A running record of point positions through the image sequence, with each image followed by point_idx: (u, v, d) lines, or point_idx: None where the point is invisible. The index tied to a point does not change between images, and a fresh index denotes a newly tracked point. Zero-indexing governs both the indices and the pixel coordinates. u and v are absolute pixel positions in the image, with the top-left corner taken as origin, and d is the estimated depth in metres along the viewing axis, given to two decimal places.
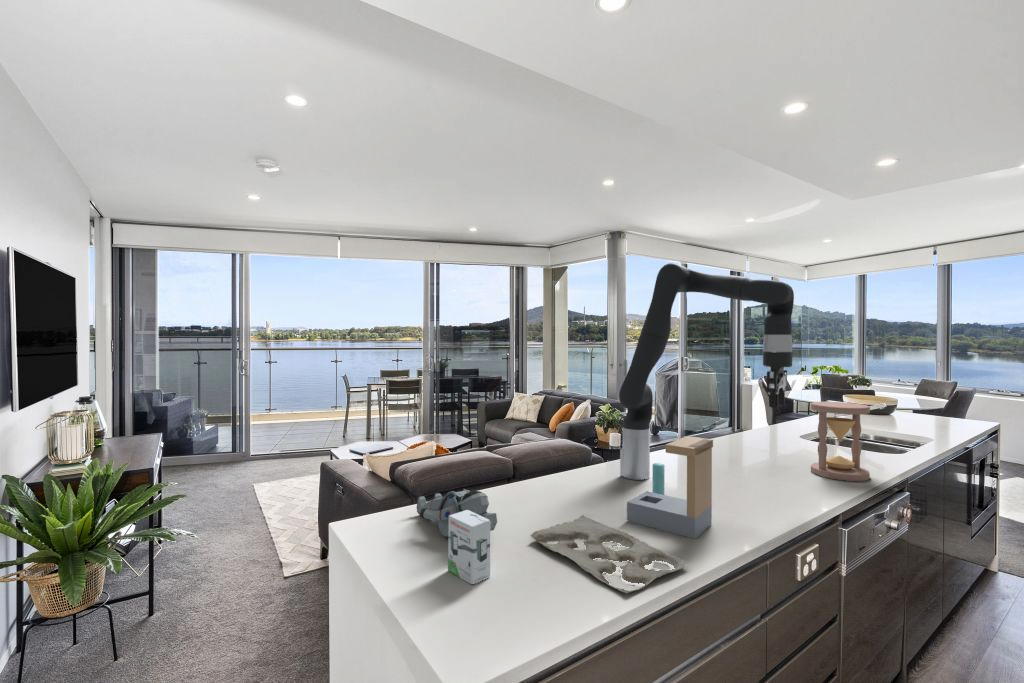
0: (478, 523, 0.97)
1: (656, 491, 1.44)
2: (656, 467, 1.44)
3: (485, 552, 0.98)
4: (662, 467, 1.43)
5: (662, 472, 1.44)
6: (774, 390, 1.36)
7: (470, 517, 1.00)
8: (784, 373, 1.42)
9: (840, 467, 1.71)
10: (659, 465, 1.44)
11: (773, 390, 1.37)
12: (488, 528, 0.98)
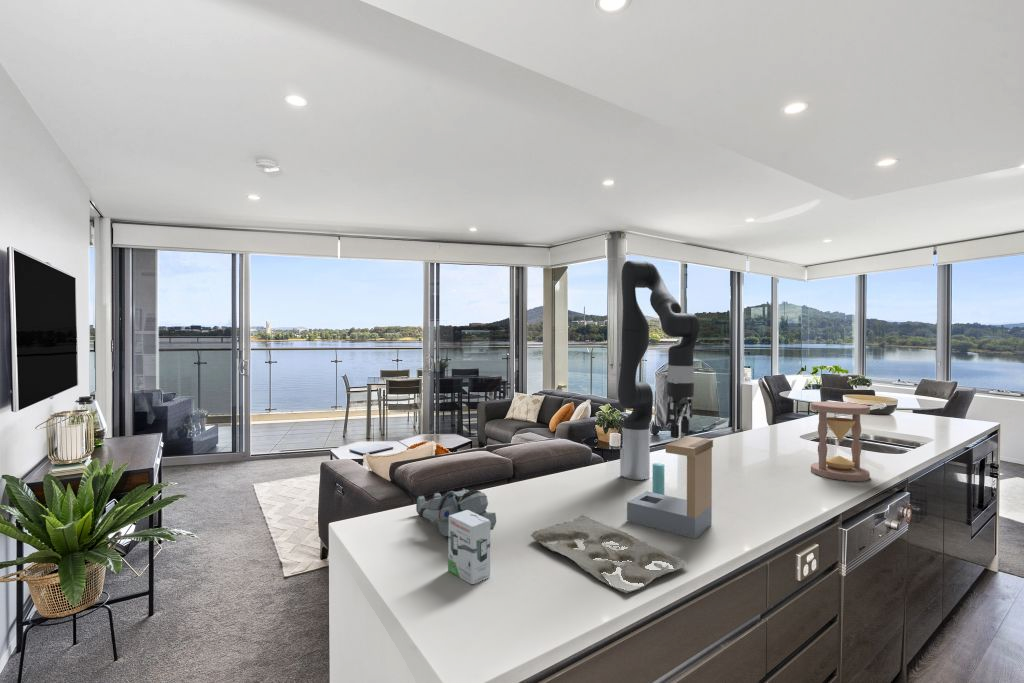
0: (478, 523, 0.97)
1: (656, 491, 1.44)
2: (656, 467, 1.44)
3: (485, 552, 0.98)
4: (662, 467, 1.43)
5: (662, 472, 1.44)
6: (674, 421, 1.39)
7: (470, 517, 1.00)
8: (687, 403, 1.44)
9: (840, 467, 1.71)
10: (659, 465, 1.44)
11: (673, 421, 1.39)
12: (488, 528, 0.98)
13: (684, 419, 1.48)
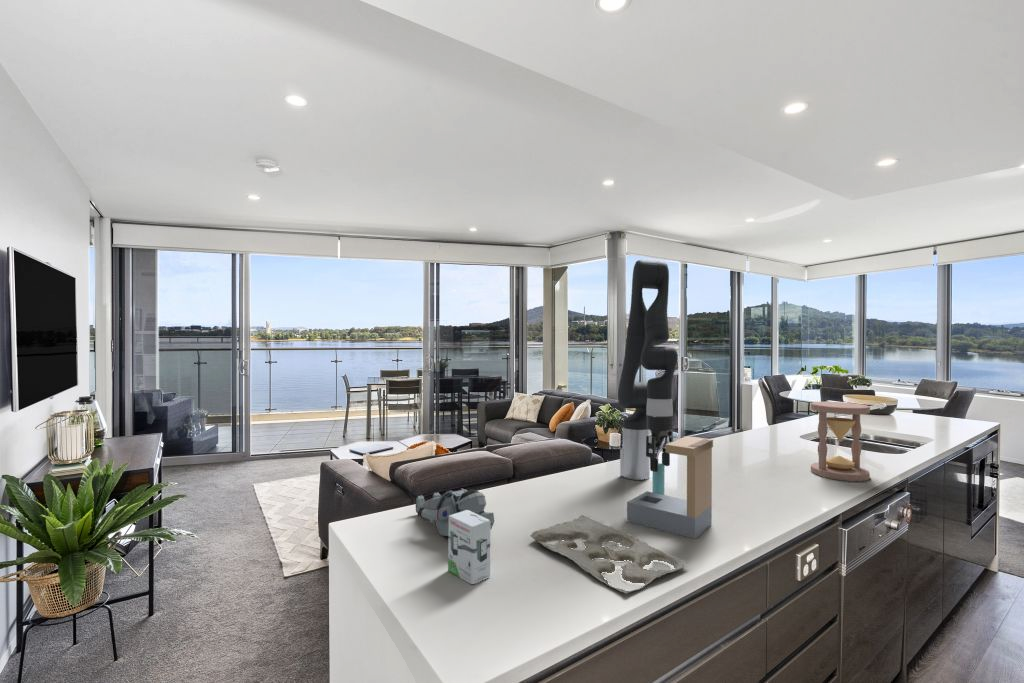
0: (478, 523, 0.97)
1: (656, 491, 1.44)
2: None
3: (485, 552, 0.98)
4: (662, 467, 1.43)
5: (662, 472, 1.44)
6: (652, 455, 1.39)
7: (470, 517, 1.00)
8: (666, 436, 1.45)
9: (840, 467, 1.71)
10: (659, 465, 1.44)
11: (651, 455, 1.39)
12: (488, 528, 0.98)
13: (665, 452, 1.48)
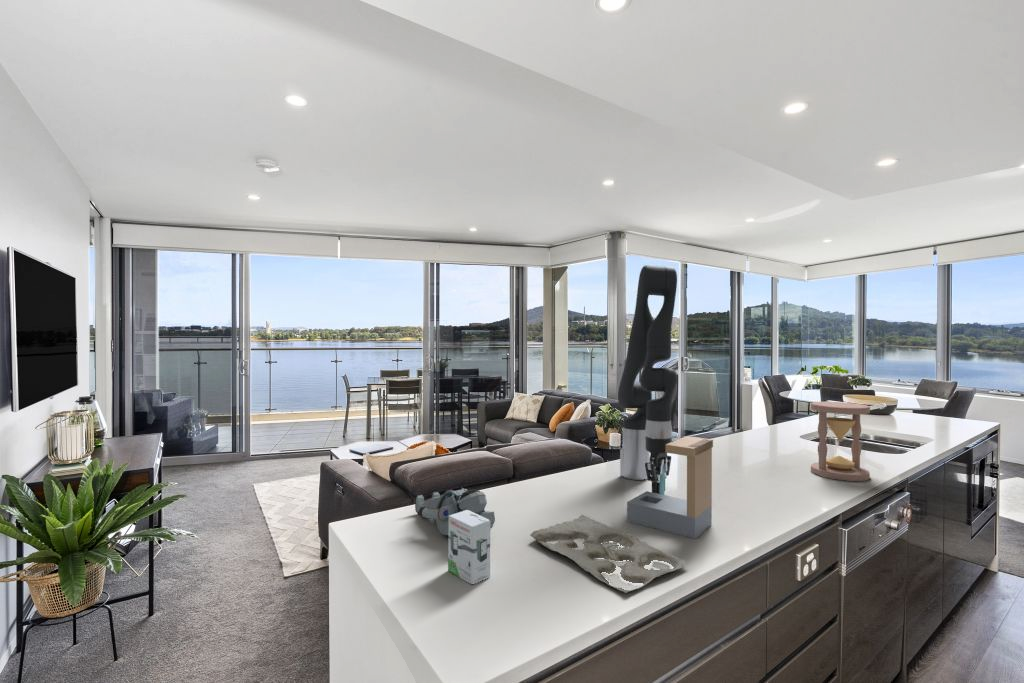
0: (478, 523, 0.97)
1: None
2: None
3: (485, 552, 0.98)
4: None
5: (662, 472, 1.44)
6: (654, 479, 1.41)
7: (470, 517, 1.00)
8: (665, 457, 1.45)
9: (840, 467, 1.71)
10: None
11: (653, 479, 1.41)
12: (488, 528, 0.98)
13: None
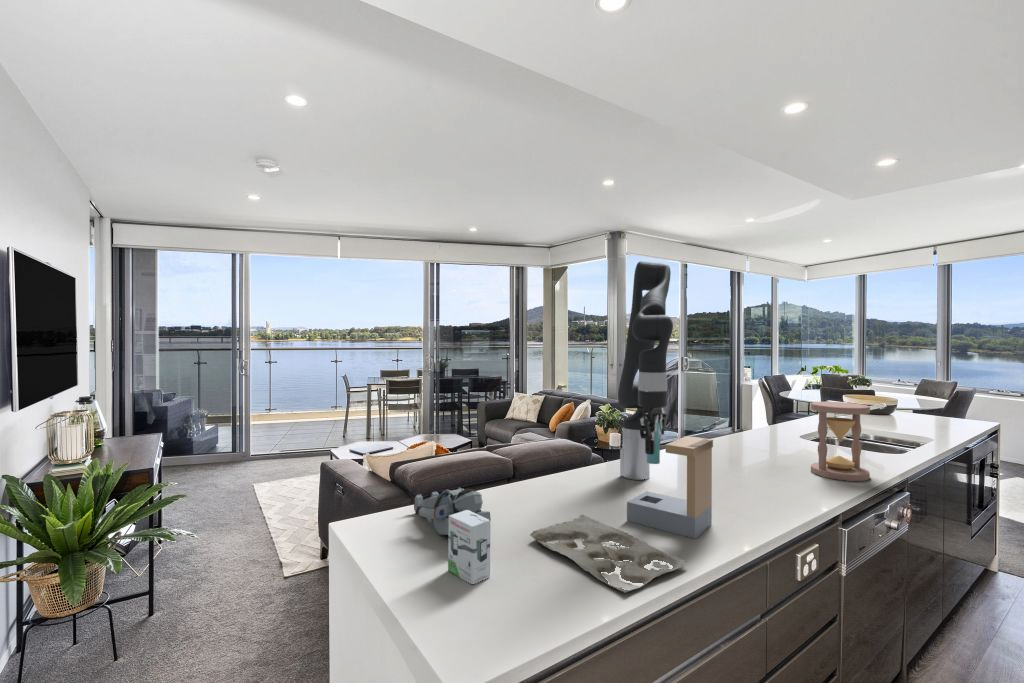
0: (478, 523, 0.97)
1: None
2: None
3: (485, 552, 0.98)
4: (657, 424, 1.30)
5: (657, 429, 1.30)
6: (647, 436, 1.28)
7: (470, 517, 1.00)
8: (660, 413, 1.32)
9: (840, 467, 1.71)
10: None
11: (647, 436, 1.28)
12: (488, 528, 0.98)
13: None
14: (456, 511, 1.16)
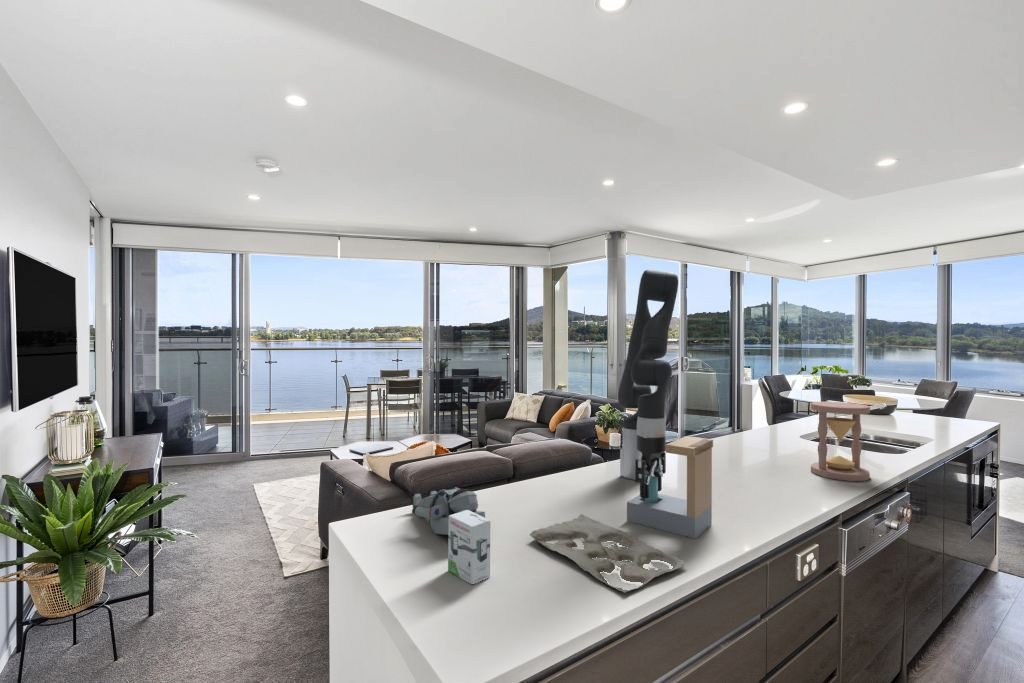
0: (478, 523, 0.97)
1: None
2: (649, 480, 1.30)
3: (485, 552, 0.98)
4: (655, 480, 1.30)
5: (655, 486, 1.30)
6: (642, 481, 1.26)
7: (470, 517, 1.00)
8: (658, 458, 1.31)
9: (840, 467, 1.71)
10: (652, 478, 1.31)
11: (641, 481, 1.26)
12: (488, 528, 0.98)
13: (656, 475, 1.35)
14: (451, 511, 1.16)
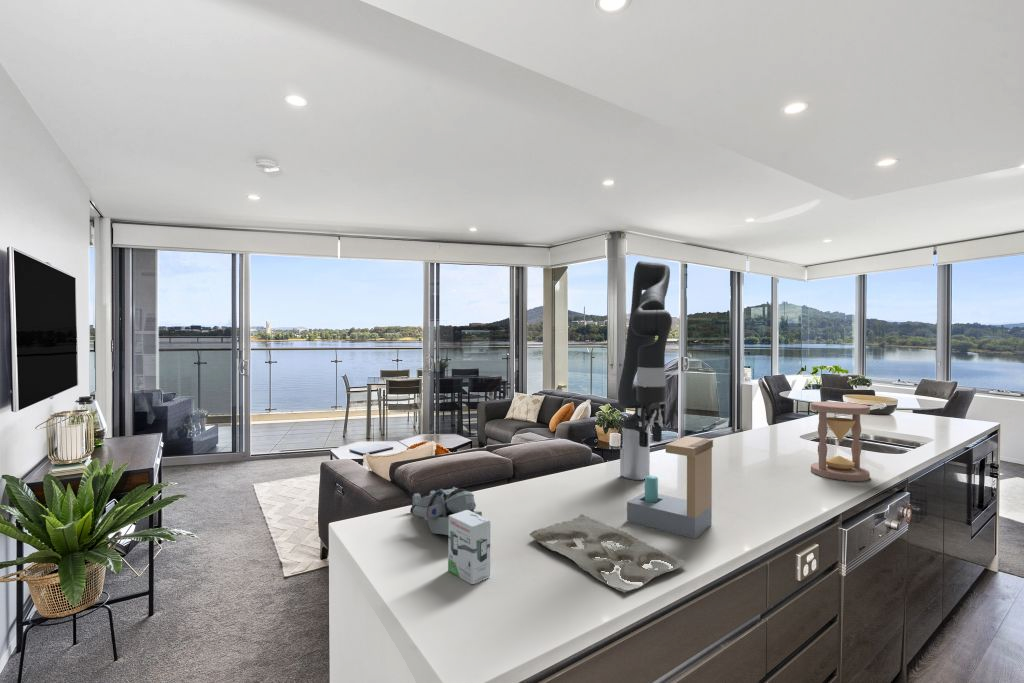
0: (478, 523, 0.97)
1: None
2: (649, 480, 1.30)
3: (485, 552, 0.98)
4: (655, 480, 1.30)
5: (655, 486, 1.30)
6: (641, 429, 1.26)
7: (470, 517, 1.00)
8: (658, 409, 1.32)
9: (840, 467, 1.71)
10: (652, 478, 1.31)
11: (640, 429, 1.26)
12: (488, 528, 0.98)
13: (656, 426, 1.35)
14: (448, 510, 1.17)
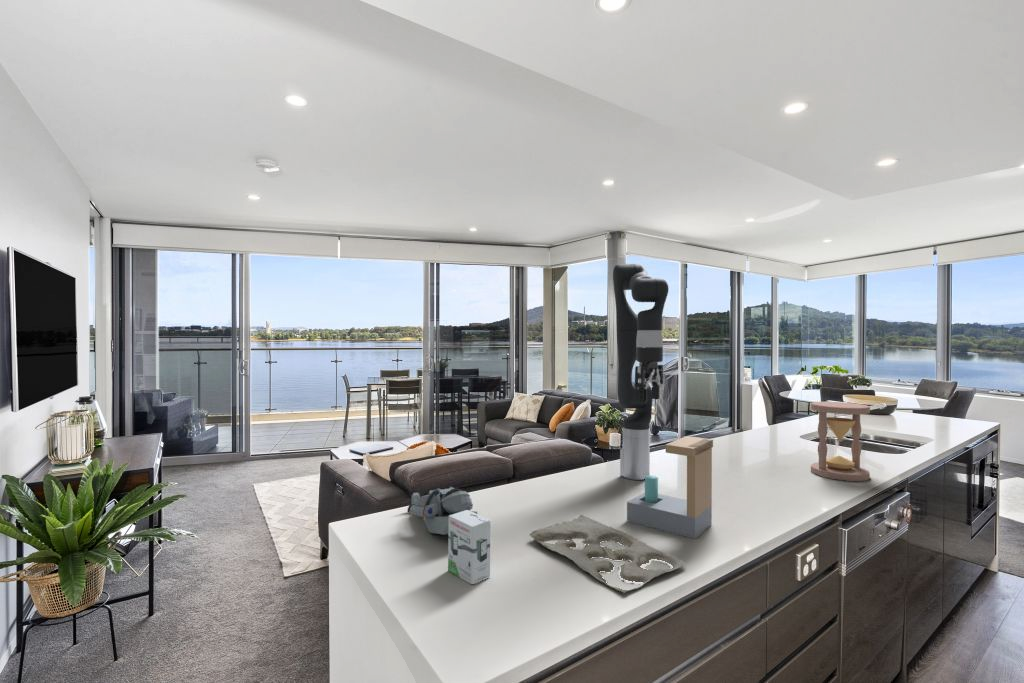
0: (478, 523, 0.97)
1: None
2: (649, 480, 1.30)
3: (485, 552, 0.98)
4: (655, 480, 1.30)
5: (655, 486, 1.30)
6: (641, 385, 1.39)
7: (470, 517, 1.00)
8: (656, 368, 1.44)
9: (840, 467, 1.71)
10: (652, 478, 1.31)
11: (640, 385, 1.39)
12: (488, 528, 0.98)
13: (654, 385, 1.48)
14: (444, 510, 1.17)
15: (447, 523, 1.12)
